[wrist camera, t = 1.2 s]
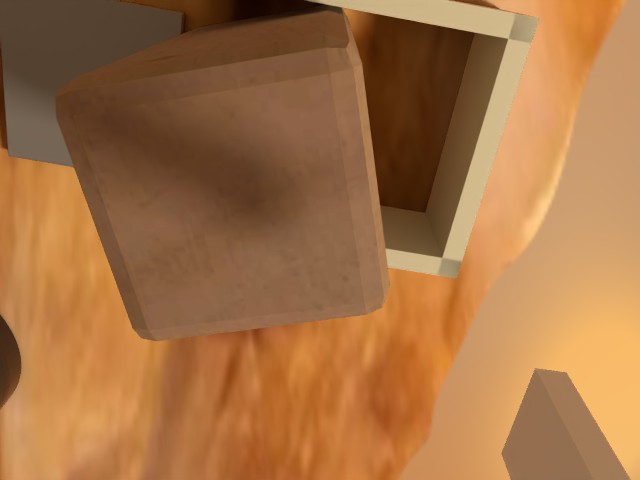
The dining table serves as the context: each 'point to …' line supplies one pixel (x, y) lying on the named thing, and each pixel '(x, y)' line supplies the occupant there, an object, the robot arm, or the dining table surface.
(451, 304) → the dining table surface
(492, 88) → the crate
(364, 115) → the wooden block
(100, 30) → the trivet
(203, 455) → the dining table surface
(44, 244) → the dining table surface
